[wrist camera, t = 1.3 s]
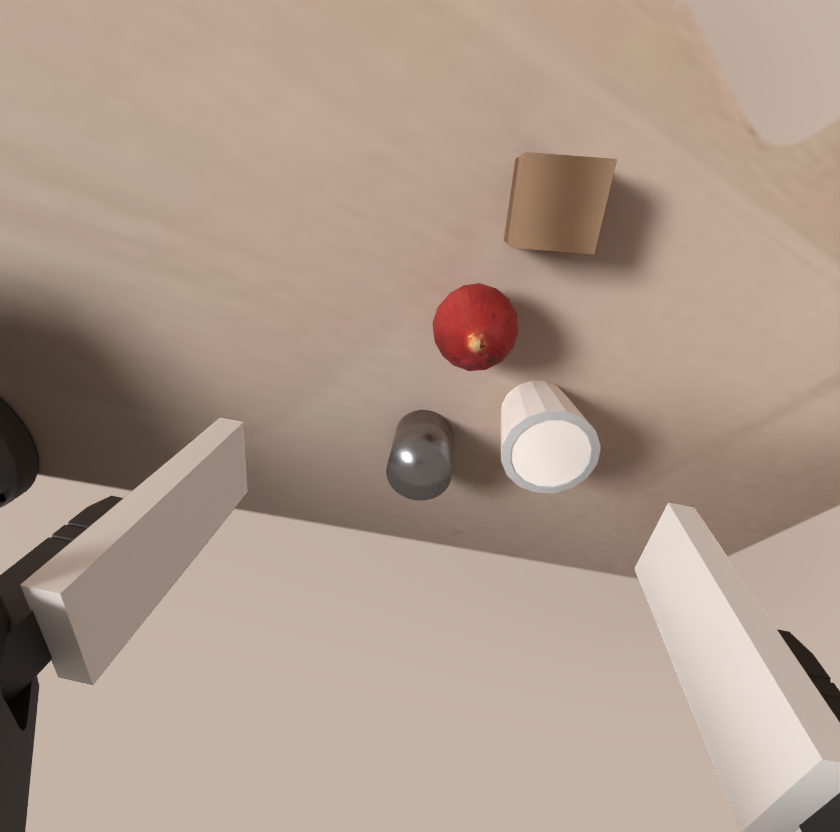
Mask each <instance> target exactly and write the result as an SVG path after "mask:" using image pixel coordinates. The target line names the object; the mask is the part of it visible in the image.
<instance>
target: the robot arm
mask: <svg viewBox="0 0 840 832" xmlns="http://www.w3.org/2000/svg"><path fill="white" fill-rule="evenodd" d="M37 472H38V459H37V453H36V450H35V447H34V444H33V442H32V439H31V437H30V436H29V434H28V432H27V430H26V429H25V427H24V426H23V424H22V423H21V421H20V420H19V419H18V418H17V416H16V415H15V414H14V413H13V412H12V411H11V410H10V408H8V407H7V406H6V405H5V404H4V403H3V402H2V401H1V400H0V508H1V507H3V506H5V505H6V504H8V503H9V502H11V501H12V500H14V499H15V498H17V497H18V496H20V495H21V494H23V493H24V492H26V491H27V490H28V489H29V488H30V487H31V486H32V484H33V483H34V481H35V479H36V476H37ZM247 492H248V490H247V473H246V456H245V439H244V422H241V421H236V420H230V419H225V418H219V419H218V420H217V421H215V422H214V423H213V424H212V425H211V426H209V427H208V428H207V429H206V430H205V431H203V432H202V433H201V434H200V435H199V436H197V437H196V438H195V439H194V440H193V441H191V442H190V443H189V444H188V445H187V446H185V447H184V448H183V449H182V450H181V451H179V452H178V453H177V454H176V455H175V456H174V457H172V458H171V459H170V460H169V461H168V462H166V463H165V464H164V465H163V466H162V467H160V468H159V469H158V470H157V471H156V472H154V473H153V474H152V475H151V476H150V477H148V478H147V479H146V480H145V481H144V482H142V483H141V484H140V485H139V486H138V487H136V488H135V489H134V490H133V491H132V492H130V493H129V494H128V495H127V496H126V497H125V498H120V497H115V496H110V497H108V498H106V499H104V500H102V501H99V502H97V503H95V504H93V505H91V506H89V507H87V508H86V509H84V510H83V511H82V512H80V513H79V514H78V515H77V516H75V517H74V518H73V519H72V520H70V521H69V522H68V525H64V526H63V527H61V528H60V529H59V530H58V531H56V532H55V533H54V534H53V536H52V537H51V538H47V539H46V540H45V541H43V542H42V543H41V544H40V545H38V546H37V547H36V548H34V549H33V550H32V551H31V552H29V553H28V554H27V555H26V556H24V557H23V558H22V559H20V560H19V561H18V562H17V563H16V564H14V565H13V566H12V567H10V568H9V569H8V570H6V571H5V572H4V573H3V574H1V575H0V832H25V827H26V817H27V807H28V796H29V785H30V774H31V765H32V755H33V745H34V734H35V724H36V714H37V702H38V693H39V683H38V678H37V675H38V673H39V672H40V671H41V670H42V669H43V668H44V667H45V666H46V665H47V664H48V663H49V662H50V660H51V661H52V663H53V665H54V668H55V670H56V673H57V675H58V677H60V678H64V679H69V680H73V681H78V682H82V683H87V684H91V685H93V684H94V683H95V682H96V681H97V680H98V678H99V677H100V676H101V675H102V673H103V672H104V671H105V670H106V668H107V667H108V666H109V665H110V663H111V662H112V661H113V660H114V658H115V657H116V656H117V655H118V653H119V652H120V651H121V650H122V648H123V647H124V646H125V645H126V643H127V642H128V641H129V640H130V638H131V637H132V636H133V634H134V633H135V632H136V631H137V629H138V628H139V627H140V626H141V625H142V623H143V622H144V621H145V620H146V618H147V617H148V616H149V615H150V613H151V612H152V611H153V610H154V608H155V607H156V606H157V605H158V603H159V602H160V601H161V600H162V598H163V597H164V596H165V595H166V593H167V592H168V591H169V590H170V588H171V587H172V586H173V585H174V583H175V582H176V581H177V580H178V578H179V577H180V576H181V575H182V573H183V572H184V571H185V570H186V568H187V567H188V566H189V565H190V563H191V562H192V561H193V560H194V558H195V557H196V556H197V555H198V553H199V552H200V551H201V550H202V548H203V547H204V546H205V545H206V543H207V542H208V541H209V540H210V538H211V537H212V536H213V535H214V533H215V532H216V531H217V529H218V528H219V527H220V526H221V525H222V523H223V522H224V521H225V520H226V518H227V517H228V516H229V515H230V513H231V512H232V511H233V510H234V508H235V507H236V506H237V505H238V503H239V502H240V501H241V500H242V498H243V497H244V496H245V495H246V493H247ZM635 572H636V574H637V577H638V579H639V582H640V584H641V587H642V589H643V591H644V594H645V597H646V599H647V601H648V604H649V607H650V609H651V611H652V614H653V616H654V619H655V621H656V624H657V626H658V629H659V631H660V634H661V636H662V639H663V641H664V643H665V646H666V648H667V651H668V653H669V656H670V659H671V661H672V664H673V666H674V669H675V671H676V674H677V676H678V678H679V681H680V683H681V686H682V688H683V691H684V693H685V696H686V698H687V701H688V703H689V706H690V708H691V711H692V713H693V716H694V718H695V720H696V723H697V726H698V728H699V730H700V733H701V735H702V738H703V741H704V743H705V746H706V748H707V750H708V753H709V755H710V758H711V760H712V763H713V765H714V768H715V770H716V773H717V775H718V778H719V780H720V783H721V785H722V788H723V790H724V792H725V795H726V797H727V800H728V803H729V805H730V808H731V810H732V812H733V815H734V817H735V820H736V822H737V825H738V827H739V830H740V832H795V831H796V830H797V829H799V828H800V829H801V831H802V832H840V691H839V690H838V688H837V687H836V686H835V684H834V683H831V682H830V677H829V676H828V674H827V673H826V672H825V670H824V669H823V667H822V666H821V665H820V663H819V662H818V660H817V659H816V658H815V656H814V655H813V654H812V653H811V652H810V651H809V650H808V649H807V648H806V647H805V646H803V644H802V643H801V642H799V641H798V640H797V639H796V638H795V637H794V636H793V635H792V634H791V633H790V632H787V631H782V630H777V629H776V628H775V626H774V625H773V623H772V622H771V620H770V619H769V617H768V616H767V614H766V613H765V612H764V610H763V608H762V607H761V605H760V604H759V602H758V601H757V600H756V598H755V597H754V595H753V594H752V592H751V591H750V589H749V588H748V586H747V585H746V583H745V582H744V580H743V579H742V577H741V576H740V574H739V573H738V572H737V570H736V568H735V567H734V565H733V564H732V562H731V561H730V559H729V558H728V557H727V555H726V554H725V552H724V551H723V549H722V548H721V546H720V545H719V543H718V542H717V540H716V539H715V537H714V536H713V534H712V533H711V531H710V530H709V528H708V527H707V525H706V524H705V522H704V521H703V520H702V518H701V517H700V515H699V514H698V512H697V511H696V509H695V508H694V507H688V506H683V505H678V504H673V503H668V504H667V506H666V508H665V510H664V512H663V514H662V516H661V518H660V520H659V522H658V524H657V526H656V528H655V530H654V531H653V533H652V535H651V537H650V539H649V541H648V543H647V545H646V547H645V549H644V551H643V553H642V555H641V557H640V559H639V561H638V563H637V565H636V567H635Z"/></svg>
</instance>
